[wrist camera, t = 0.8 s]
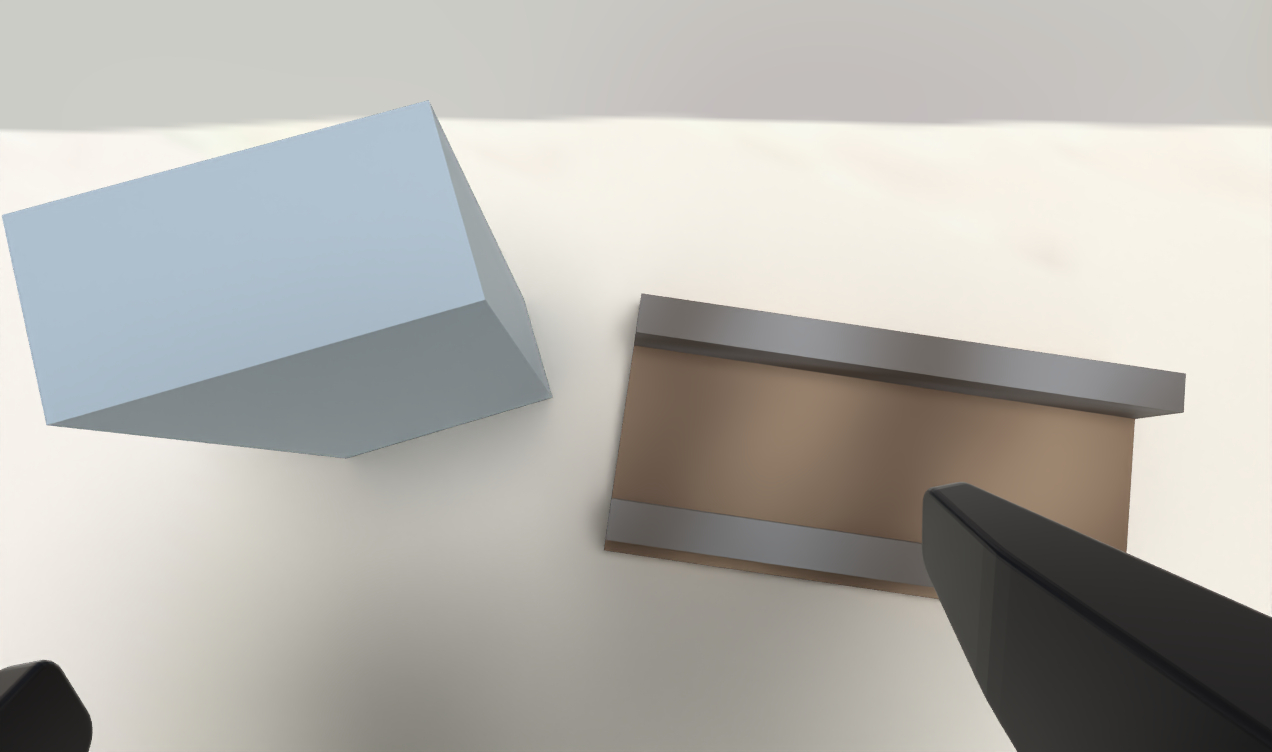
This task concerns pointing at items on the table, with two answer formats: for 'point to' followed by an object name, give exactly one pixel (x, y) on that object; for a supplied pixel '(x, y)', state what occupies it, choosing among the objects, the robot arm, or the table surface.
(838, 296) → the table surface
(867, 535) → the floor track
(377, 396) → the door panel
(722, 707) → the table surface
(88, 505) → the table surface
